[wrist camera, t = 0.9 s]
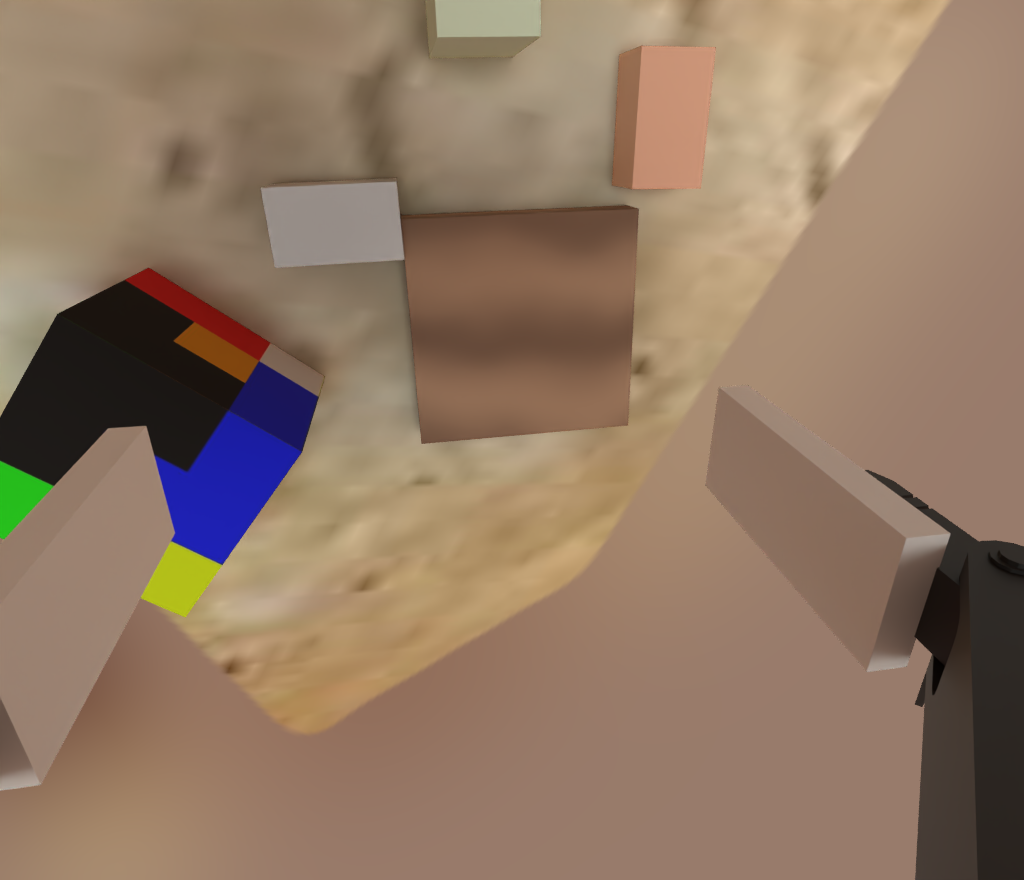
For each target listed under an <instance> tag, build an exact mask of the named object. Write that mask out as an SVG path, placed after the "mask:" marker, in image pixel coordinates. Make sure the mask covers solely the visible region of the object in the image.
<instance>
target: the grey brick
mask: <svg viewBox="0 0 1024 880" xmlns="http://www.w3.org/2000/svg"><path fill="white" fill-rule="evenodd" d="M261 194H262V199H263V205H264V210H265V216H266V221H267V227H268V232H269V238H270V243H271V249H272V254H273V260H274V265H275V268H282V267H298V266H314V265H330V264H346V263H361V262H377V261H393V260H404V247H403V237H402V227H401V217H400V207H399V198H398V188H397V178H383V179H362V180H341V181H320V182H298V183H277V184H271V185H268V186H265V187H262V188H261Z"/></svg>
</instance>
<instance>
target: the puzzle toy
mask: <svg viewBox="0 0 1024 880" xmlns="http://www.w3.org/2000/svg"><path fill="white" fill-rule="evenodd" d="M324 378H325V376H323V375H322V374H320V373H318V372H317V371H315V370H314V369H312V368H310V367H309V366H307V365H305V364H304V363H302V362H301V361H299V360H297V359H296V358H294V357H292V356H291V355H289V354H288V353H286V352H284V351H283V350H281V349H280V348H278V347H276V346H275V345H273V344H271V343H270V342H268V341H267V340H265V339H263V338H262V337H260V336H258V335H257V334H255V333H254V332H252V331H250V330H249V329H247V328H246V327H244V326H242V325H241V324H239V323H237V322H236V321H234V320H233V319H231V318H229V317H228V316H226V315H224V314H223V313H221V312H220V311H218V310H216V309H215V308H213V307H212V306H210V305H208V304H207V303H205V302H203V301H202V300H200V299H199V298H197V297H195V296H194V295H192V294H190V293H189V292H187V291H186V290H184V289H182V288H181V287H179V286H178V285H176V284H174V283H173V282H171V281H169V280H168V279H166V278H165V277H163V276H161V275H160V274H158V273H156V272H155V271H153V270H152V269H150V268H147V269H145V270H143V271H141V272H139V273H137V274H135V275H133V276H131V277H130V278H128V279H126V280H124V281H122V282H120V283H118V284H116V285H114V286H112V287H110V288H108V289H106V290H104V291H102V292H100V293H98V294H96V295H94V296H92V297H90V298H88V299H86V300H84V301H82V302H80V303H78V304H76V305H74V306H72V307H70V308H68V309H66V310H64V311H62V312H60V313H58V314H57V316H56V317H55V319H54V321H53V323H52V325H51V326H50V328H49V330H48V332H47V334H46V336H45V337H44V339H43V341H42V343H41V345H40V346H39V348H38V350H37V352H36V354H35V355H34V357H33V359H32V361H31V363H30V364H29V366H28V368H27V370H26V372H25V373H24V375H23V377H22V379H21V381H20V382H19V384H18V386H17V388H16V390H15V391H14V393H13V395H12V397H11V399H10V400H9V402H8V404H7V406H6V408H5V409H4V411H3V413H2V415H1V417H0V538H2V539H5V538H6V537H7V536H8V535H9V534H10V533H11V532H12V531H13V529H14V528H15V527H16V526H17V525H18V524H19V523H20V522H21V521H22V520H23V519H24V518H25V517H26V516H27V515H28V513H29V512H30V511H31V510H32V509H33V508H34V507H35V506H36V505H37V504H38V503H39V502H40V501H41V500H42V499H43V497H44V496H45V495H46V494H47V493H48V492H49V491H50V490H51V489H52V488H53V487H54V486H55V485H56V484H57V482H58V481H59V480H60V479H61V478H62V477H63V476H64V475H65V474H66V473H67V472H68V471H69V470H70V469H71V468H72V466H73V465H74V464H75V463H76V462H77V461H78V460H79V459H80V458H81V457H82V456H83V455H84V454H85V453H86V452H87V450H88V449H89V448H90V447H91V446H92V445H93V444H94V443H95V442H96V441H97V440H98V439H99V438H100V437H101V436H102V434H103V433H104V432H105V431H106V430H107V429H108V428H121V427H136V426H146V427H147V431H148V434H149V438H150V442H151V446H152V449H153V453H154V457H155V460H156V464H157V468H158V472H159V475H160V479H161V483H162V486H163V490H164V494H165V498H166V501H167V505H168V509H169V513H170V516H171V520H172V524H173V527H174V531H175V534H174V536H173V538H172V540H171V542H170V544H169V545H168V547H167V549H166V551H165V553H164V555H163V557H162V559H161V560H160V562H159V564H158V566H157V568H156V570H155V572H154V574H153V575H152V577H151V579H150V581H149V583H148V585H147V587H146V589H145V590H144V592H143V594H142V596H141V598H142V599H144V600H146V601H149V602H151V603H153V604H156V605H158V606H160V607H162V608H165V609H167V610H169V611H172V612H174V613H176V614H179V615H181V616H183V617H186V616H187V614H188V613H189V611H190V610H191V609H192V607H193V606H194V604H195V603H196V602H197V600H198V599H199V597H200V596H201V594H202V593H203V592H204V590H205V589H206V587H207V586H208V585H209V583H210V582H211V580H212V579H213V577H214V576H215V575H216V573H217V572H218V570H219V569H220V568H221V566H222V565H223V563H224V562H225V560H226V559H227V558H228V556H229V555H230V553H231V552H232V551H233V549H234V548H235V546H236V545H237V543H238V542H239V541H240V539H241V538H242V536H243V535H244V533H245V532H246V531H247V529H248V528H249V526H250V525H251V524H252V522H253V521H254V519H255V518H256V516H257V515H258V514H259V512H260V511H261V509H262V508H263V507H264V505H265V504H266V502H267V501H268V499H269V498H270V497H271V495H272V494H273V492H274V491H275V490H276V488H277V487H278V485H279V484H280V482H281V481H282V480H283V478H284V477H285V475H286V474H287V473H288V471H289V470H290V468H291V467H292V465H293V464H294V463H295V461H296V460H297V458H298V457H299V455H300V454H301V453H302V451H303V447H304V444H305V441H306V437H307V434H308V431H309V428H310V424H311V421H312V418H313V414H314V411H315V408H316V405H317V401H318V398H319V395H320V391H321V388H322V385H323V382H324Z"/></svg>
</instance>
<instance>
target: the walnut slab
mask: <svg viewBox="0 0 1024 880" xmlns="http://www.w3.org/2000/svg"><path fill="white" fill-rule="evenodd" d="M638 213H639V209H638V208H634V207H630V206H627V205H625V206H602V207H580V208H557V209H534V210H512V211H489V212H466V213H444V214H421V215H401V225H402V236H403V247H404V258H405V268H406V279H407V290H408V301H409V312H410V323H411V334H412V345H413V356H414V366H415V377H416V388H417V399H418V410H419V421H420V432H421V443H422V444H425V443H436V442H447V441H458V440H470V439H481V438H492V437H503V436H514V435H525V434H537V433H548V432H559V431H570V430H581V429H592V428H604V427H615V426H626V425H628V415H629V395H630V375H631V355H632V334H633V314H634V294H635V274H636V253H637V233H638Z"/></svg>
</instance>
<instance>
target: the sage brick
mask: <svg viewBox="0 0 1024 880" xmlns="http://www.w3.org/2000/svg"><path fill="white" fill-rule="evenodd" d="M425 5H426V20H427V35H428V49H429V58H487V57H513V56H515V55H516V54H517V53H519V52H520V51H522V50H523V49H524V48H526V47H527V46H528V45H530V44H531V43H532V42H534V41H535V40H537V39H538V38H539V37H541V0H425Z"/></svg>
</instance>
